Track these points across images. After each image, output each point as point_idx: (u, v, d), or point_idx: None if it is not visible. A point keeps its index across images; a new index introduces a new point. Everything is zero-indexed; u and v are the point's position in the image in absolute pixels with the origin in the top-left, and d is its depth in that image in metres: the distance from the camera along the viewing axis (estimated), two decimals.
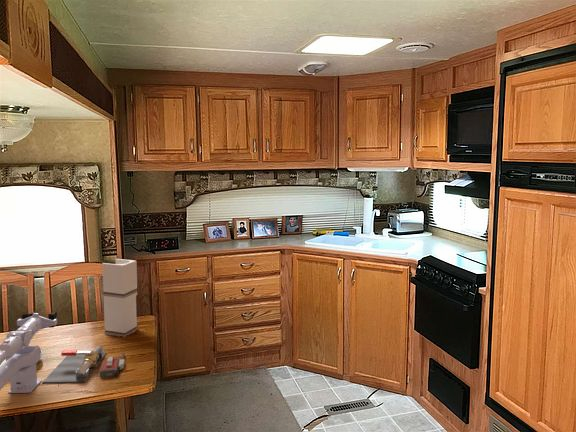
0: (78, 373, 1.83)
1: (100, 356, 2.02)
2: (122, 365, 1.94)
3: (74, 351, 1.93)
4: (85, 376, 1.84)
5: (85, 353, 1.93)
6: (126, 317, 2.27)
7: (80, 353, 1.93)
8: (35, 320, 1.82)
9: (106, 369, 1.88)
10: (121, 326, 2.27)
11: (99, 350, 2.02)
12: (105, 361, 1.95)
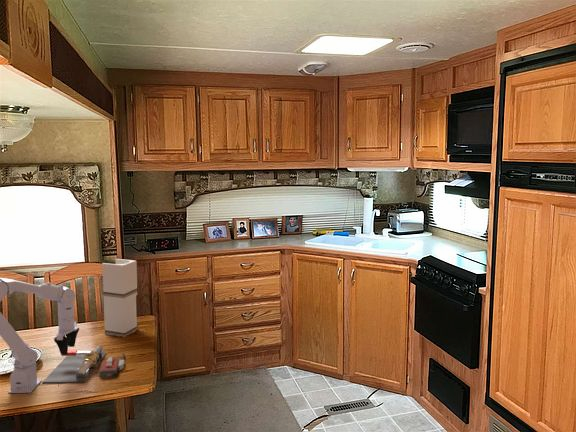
0: (78, 373, 1.83)
1: (100, 356, 2.02)
2: (122, 365, 1.94)
3: (74, 351, 1.93)
4: (85, 376, 1.84)
5: (85, 353, 1.93)
6: (126, 317, 2.27)
7: (80, 353, 1.93)
8: (71, 321, 1.86)
9: (105, 369, 1.87)
10: (121, 326, 2.27)
11: (99, 350, 2.02)
12: (105, 361, 1.94)
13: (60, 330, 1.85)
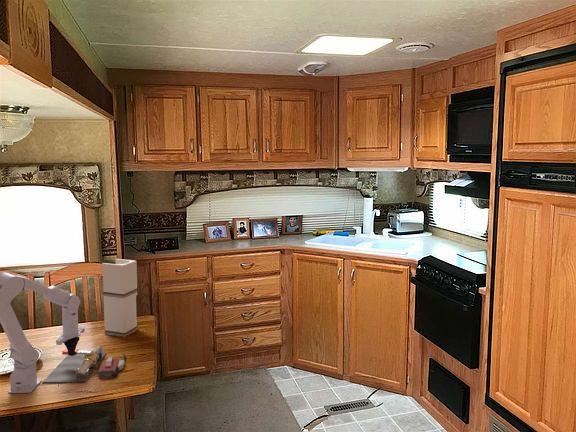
0: (78, 373, 1.83)
1: (100, 356, 2.02)
2: (121, 366, 1.94)
3: (75, 350, 1.94)
4: (85, 376, 1.84)
5: (85, 353, 1.93)
6: (126, 317, 2.27)
7: (80, 353, 1.93)
8: (73, 327, 1.89)
9: (104, 369, 1.87)
10: (121, 326, 2.27)
11: (99, 350, 2.02)
12: (105, 361, 1.94)
13: (63, 335, 1.89)
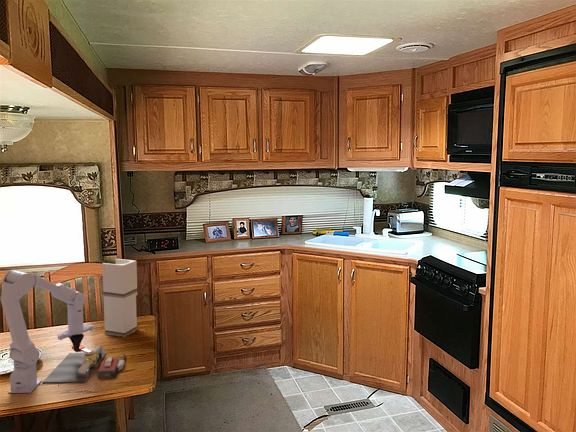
0: (78, 373, 1.83)
1: (100, 356, 2.02)
2: (121, 366, 1.94)
3: (80, 347, 1.97)
4: (85, 376, 1.84)
5: (86, 352, 1.94)
6: (126, 317, 2.27)
7: (83, 351, 1.95)
8: (75, 324, 1.92)
9: (104, 369, 1.87)
10: (121, 326, 2.27)
11: (99, 350, 2.02)
12: (104, 361, 1.94)
13: (68, 330, 1.94)
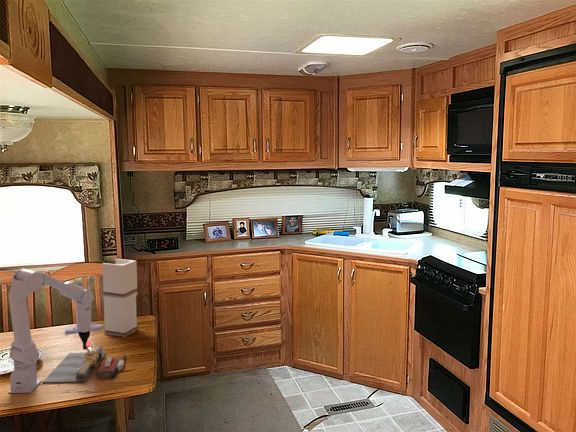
0: (78, 373, 1.83)
1: (100, 356, 2.02)
2: (120, 366, 1.94)
3: (88, 345, 1.99)
4: (85, 376, 1.84)
5: None
6: (126, 317, 2.27)
7: (87, 349, 1.97)
8: (80, 322, 1.95)
9: (103, 370, 1.87)
10: (121, 326, 2.27)
11: (99, 350, 2.02)
12: (104, 361, 1.94)
13: None
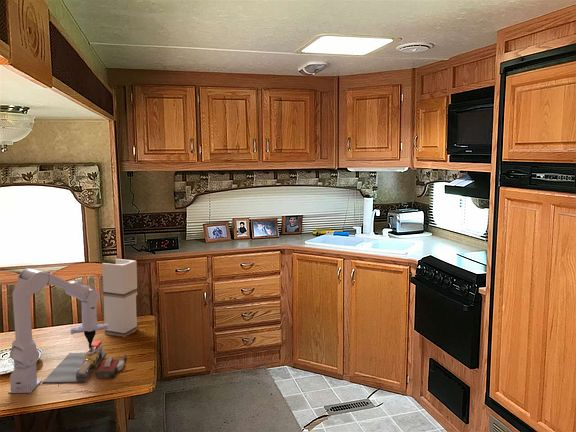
0: (78, 373, 1.83)
1: (100, 356, 2.02)
2: (120, 366, 1.93)
3: (94, 345, 2.00)
4: (85, 376, 1.84)
5: None
6: (126, 317, 2.27)
7: None
8: (86, 321, 1.96)
9: (103, 370, 1.87)
10: (121, 326, 2.27)
11: (99, 350, 2.02)
12: (104, 361, 1.94)
13: None
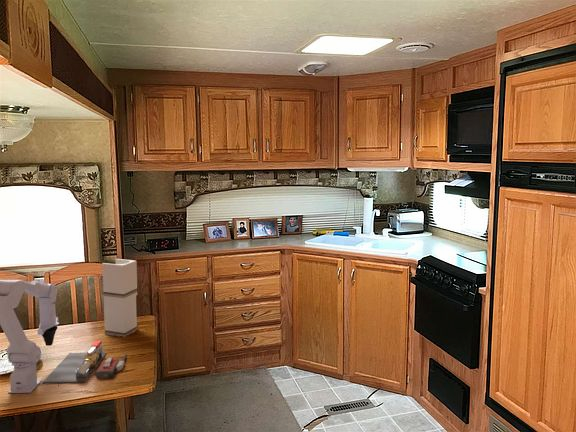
0: (78, 373, 1.83)
1: (100, 356, 2.02)
2: (120, 367, 1.93)
3: (94, 345, 2.00)
4: (85, 376, 1.84)
5: None
6: (126, 317, 2.27)
7: None
8: (52, 316, 1.91)
9: (102, 370, 1.87)
10: (121, 326, 2.27)
11: (99, 350, 2.02)
12: (104, 361, 1.94)
13: (41, 325, 1.90)
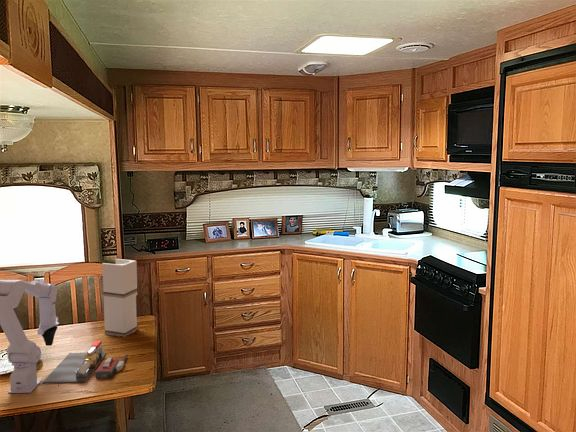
0: (78, 373, 1.83)
1: (100, 356, 2.02)
2: (120, 367, 1.93)
3: (94, 345, 2.00)
4: (85, 376, 1.84)
5: None
6: (126, 317, 2.27)
7: None
8: (52, 316, 1.91)
9: (101, 370, 1.87)
10: (121, 326, 2.27)
11: (99, 350, 2.02)
12: (104, 361, 1.94)
13: (41, 325, 1.90)
